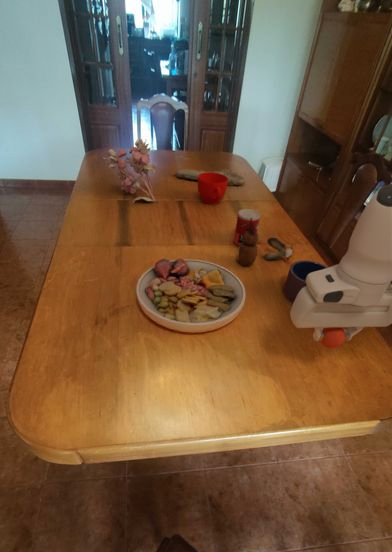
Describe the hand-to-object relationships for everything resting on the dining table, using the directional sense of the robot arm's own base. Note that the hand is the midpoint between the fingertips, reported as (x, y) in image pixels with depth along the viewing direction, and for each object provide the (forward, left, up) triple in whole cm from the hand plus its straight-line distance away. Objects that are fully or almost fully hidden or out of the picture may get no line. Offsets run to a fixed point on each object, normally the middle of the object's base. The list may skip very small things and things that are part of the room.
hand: (330, 338), depth 67 cm
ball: (0, 0, +1) cm, 1 cm away
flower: (+47, -101, -12) cm, 112 cm away
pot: (-8, -31, -12) cm, 34 cm away
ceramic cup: (+13, -97, -12) cm, 99 cm away
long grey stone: (+11, -125, -12) cm, 126 cm away
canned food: (+5, -62, -12) cm, 63 cm away
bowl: (+27, -27, -12) cm, 40 cm away
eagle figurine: (-5, -52, -12) cm, 54 cm away
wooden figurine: (+7, -48, -12) cm, 50 cm away
